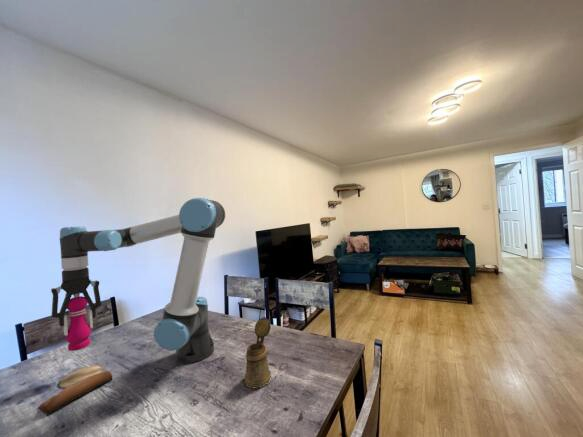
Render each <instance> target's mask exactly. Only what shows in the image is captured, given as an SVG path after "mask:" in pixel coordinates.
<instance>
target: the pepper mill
mask: <svg viewBox="0 0 583 437" xmlns="http://www.w3.org/2000/svg"><path fill="white" fill-rule="evenodd" d="M80 294H81V293H77V294H74V295H72V297H71V298H70V301H69V304H68V306H67V309H66V310H68V316H69V317H70V322H69V327H68V335H66V336H65V341H66V342H67V343H68V344H67V349H68V351H70V352H75V351H79V350H82V349H85V348H87V347H88V346H90V344H91V338H89V337H91V335H92V328H90V326H89V322H87V319H86V313H87V308H86V307H87V306H88V305H89V304H88V302H87V300H86V298H85V297H84V296H81V295H80Z"/></svg>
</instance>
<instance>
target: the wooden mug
mask: <svg viewBox="0 0 583 437" xmlns="http://www.w3.org/2000/svg"><path fill="white" fill-rule="evenodd" d="M271 327H272V326H271V322H270V320H269V319H268V318H267V317H266V316H263V317H261V318H260V319H259V320H257V321H256V322H255V324H254V334H255V335H256V337H257V338H256V342H255V343H251V344H249V345H248V346H247V350H246V353H245V354H246V355H245V357H246V367H245V368H246V369H245V375H244V383H246V384H245V385H246V386H247V385H248V386H250V387H249V388H251V387H260V386H263V385H265V384H266V383H268V382H269V380H270V378H271V379H272V375H271V374H272V373H271V370H270V365H269V362H268V355H267V354H268V352H267V349H266V345H264V342H265V337H266V336H267V335H269V334H270V331H271ZM269 383H270V382H269ZM248 386H247V387H248ZM260 388H261V387H260Z"/></svg>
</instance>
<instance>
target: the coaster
mask: <svg viewBox="0 0 583 437" xmlns="http://www.w3.org/2000/svg"><path fill="white" fill-rule="evenodd" d="M101 372H103V368H102V367H101V366H100V365H91V366H86V367H82V368H79V369H77V370H75V371H72V372H71V373H69V374H67V375H65V376H64V377H62V379H61V380H60V381H59V387H61V388H63V389H65V388H67V387H69V386H71V385H73V384H75V383H77V382H79V381H81V380H83V379H85V378H87V377H89V376H92V375H95V374H98V373H101Z"/></svg>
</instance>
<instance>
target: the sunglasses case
mask: <svg viewBox="0 0 583 437" xmlns="http://www.w3.org/2000/svg"><path fill="white" fill-rule="evenodd" d="M112 380H113V375H112V372H110V371H108V370H107V371H102V372H101V373H98V374H95V375H92V376H89V377H87V378H85V379H83V380H81V381H79V382H77V383H75V384H73V385H71V386H69V387H67V388H63V389H62V390H61V391H59V392H58V393H57V394H55V395H54V396H52V397H50V398H48V399H46V400H45V401H44V402H43V403H41V404H40V405H39V406H38V407H36V408H37V410H39V411H41V412H42V413H43V414H45V415H46V417H48V416H49V415H51V414H53V413H54V412H56V411H58V410H59V409H61V408H63V407H64V406H66V405H68V404H69V403H71V402H72V401H74V400H75V399H77V398H80V397H81V396H83V395H85V394H86V393H87V394H88V393H89V392H90V391H93V390H94V389H96V388H98V387H100V386H102V385H104V384H105V383H107V382H109V381H112Z"/></svg>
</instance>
